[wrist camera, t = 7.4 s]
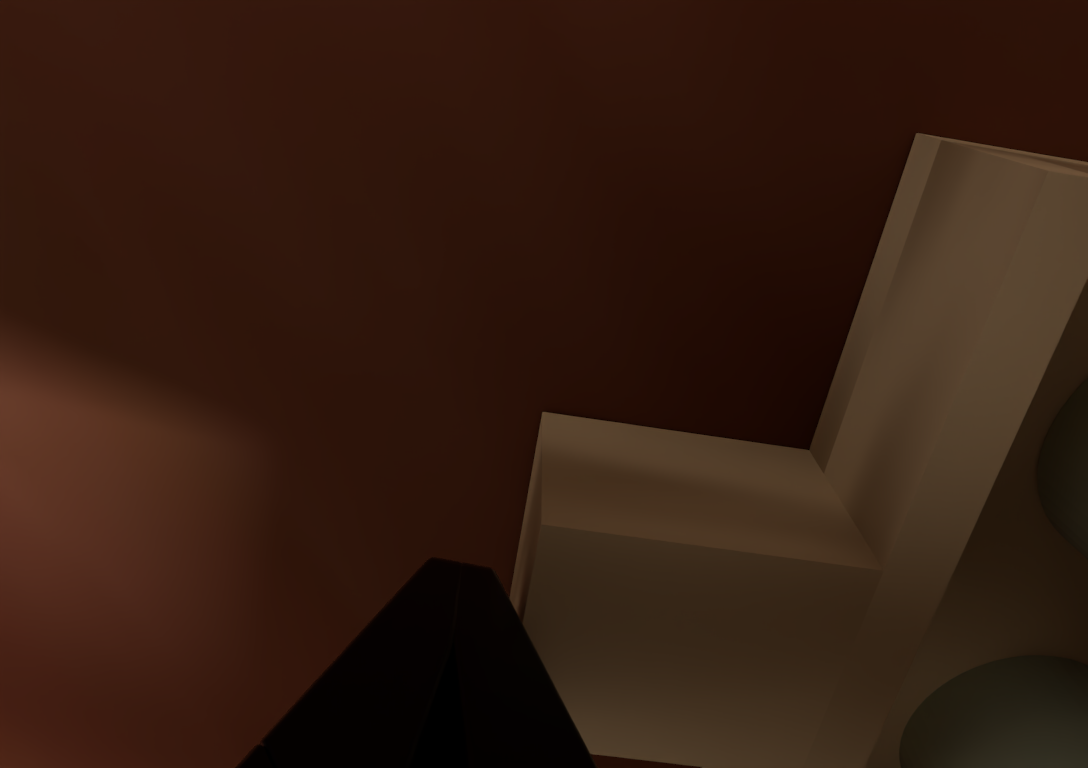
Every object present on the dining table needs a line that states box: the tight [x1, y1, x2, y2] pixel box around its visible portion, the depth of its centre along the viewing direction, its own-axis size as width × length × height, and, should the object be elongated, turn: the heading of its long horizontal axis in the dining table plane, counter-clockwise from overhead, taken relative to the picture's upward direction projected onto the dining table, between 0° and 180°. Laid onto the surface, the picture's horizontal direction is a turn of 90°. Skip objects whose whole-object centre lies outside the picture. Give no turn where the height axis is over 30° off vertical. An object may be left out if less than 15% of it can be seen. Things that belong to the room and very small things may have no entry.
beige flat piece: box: [509, 133, 1088, 768], centre depth 10 cm, size 11×12×2 cm
